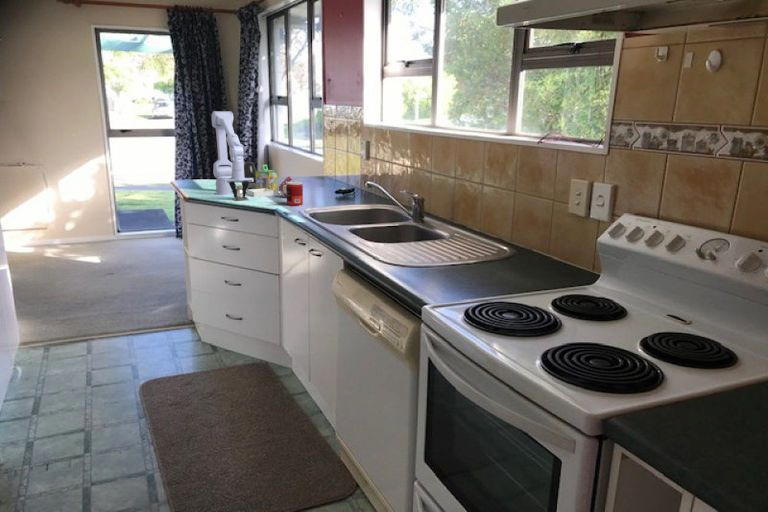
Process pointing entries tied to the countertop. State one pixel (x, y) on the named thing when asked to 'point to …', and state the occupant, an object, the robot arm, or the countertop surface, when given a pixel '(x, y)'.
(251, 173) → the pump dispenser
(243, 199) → the socket seat
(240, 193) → the silver cylinder copper tab
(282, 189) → the brake caliper
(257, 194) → the parts tray
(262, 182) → the chalk box
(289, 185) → the canned food
